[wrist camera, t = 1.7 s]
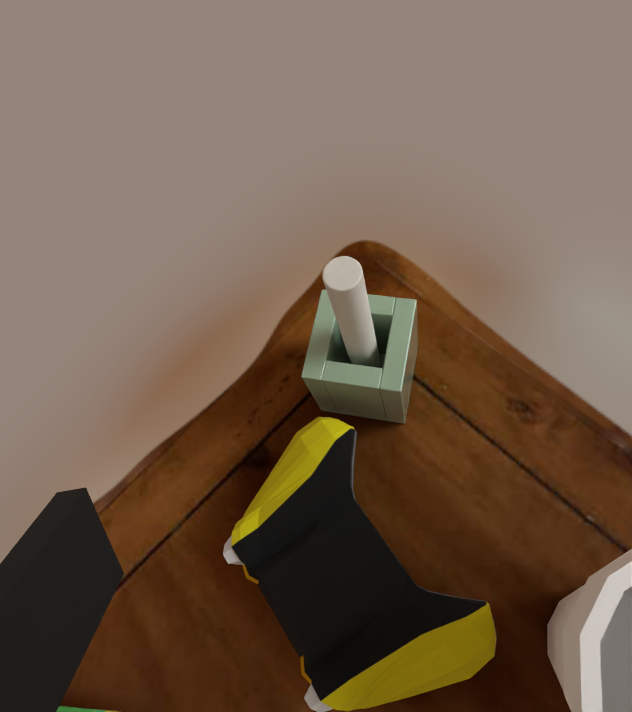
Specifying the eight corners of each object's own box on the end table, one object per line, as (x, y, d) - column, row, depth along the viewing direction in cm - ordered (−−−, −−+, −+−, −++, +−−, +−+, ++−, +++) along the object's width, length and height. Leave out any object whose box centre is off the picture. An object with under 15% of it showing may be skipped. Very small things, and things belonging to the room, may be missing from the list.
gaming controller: (343, 421, 35) (218, 514, 34) (330, 394, 30) (183, 502, 29) (506, 634, 29) (357, 754, 28) (523, 644, 24) (344, 790, 23)
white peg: (384, 364, 36) (365, 257, 24) (380, 389, 35) (358, 292, 23) (358, 360, 36) (326, 253, 24) (353, 385, 36) (318, 288, 24)
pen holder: (418, 344, 36) (417, 299, 30) (405, 424, 34) (401, 392, 29) (337, 334, 38) (321, 289, 32) (320, 410, 36) (300, 377, 30)
